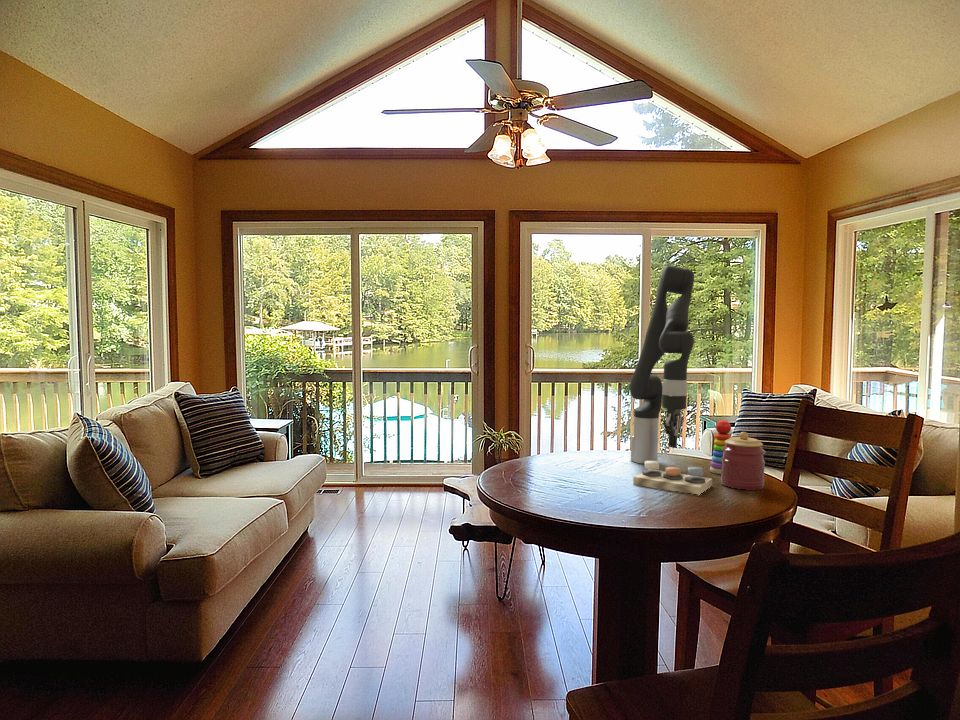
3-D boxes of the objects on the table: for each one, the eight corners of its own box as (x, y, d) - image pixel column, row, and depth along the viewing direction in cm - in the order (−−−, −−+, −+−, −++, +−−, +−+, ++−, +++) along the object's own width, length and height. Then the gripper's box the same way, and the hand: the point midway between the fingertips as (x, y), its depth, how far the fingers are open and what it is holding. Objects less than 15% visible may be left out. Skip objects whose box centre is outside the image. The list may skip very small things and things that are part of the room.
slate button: (685, 474, 185) (685, 468, 185) (689, 472, 189) (690, 466, 188) (700, 477, 182) (700, 470, 182) (704, 474, 186) (704, 468, 186)
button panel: (633, 484, 190) (633, 474, 190) (648, 476, 202) (648, 466, 201) (699, 495, 178) (700, 484, 178) (712, 486, 189) (712, 476, 189)
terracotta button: (663, 474, 189) (663, 468, 189) (668, 472, 193) (668, 466, 193) (677, 476, 186) (677, 470, 186) (682, 474, 190) (682, 468, 190)
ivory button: (642, 468, 193) (642, 462, 193) (647, 465, 197) (647, 460, 197) (656, 470, 190) (656, 464, 190) (661, 467, 194) (661, 461, 194)
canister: (745, 480, 198) (746, 428, 198) (773, 489, 186) (775, 434, 185) (712, 482, 195) (713, 429, 194) (738, 492, 182) (740, 435, 182)
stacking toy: (737, 475, 204) (739, 422, 204) (714, 475, 204) (716, 421, 204) (728, 470, 212) (730, 418, 211) (706, 470, 212) (707, 418, 212)
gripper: (669, 391, 196) (668, 442, 197) (655, 394, 185) (653, 448, 186) (692, 392, 191) (690, 445, 192) (679, 396, 181) (677, 451, 182)
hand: (672, 446), depth 189 cm, fingers closed
